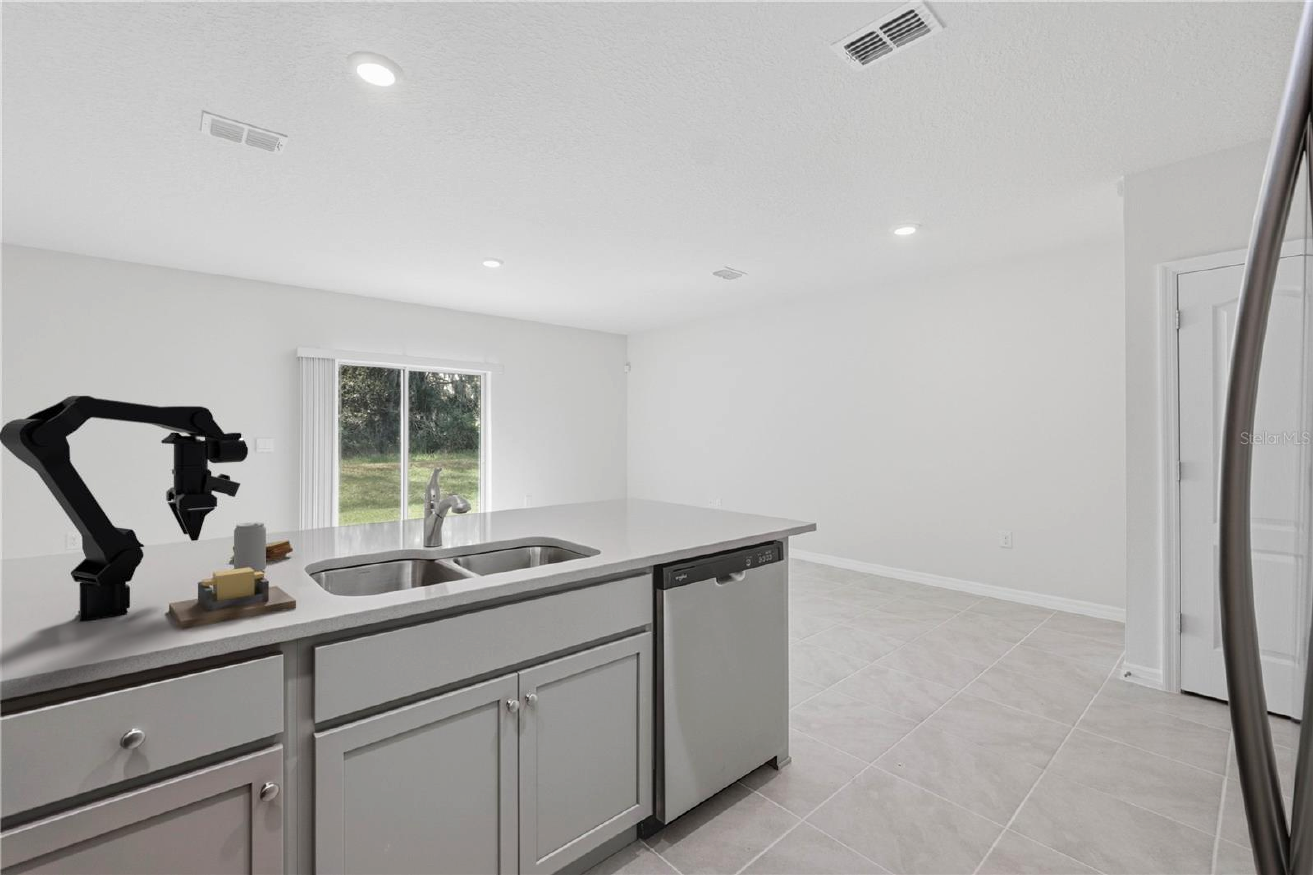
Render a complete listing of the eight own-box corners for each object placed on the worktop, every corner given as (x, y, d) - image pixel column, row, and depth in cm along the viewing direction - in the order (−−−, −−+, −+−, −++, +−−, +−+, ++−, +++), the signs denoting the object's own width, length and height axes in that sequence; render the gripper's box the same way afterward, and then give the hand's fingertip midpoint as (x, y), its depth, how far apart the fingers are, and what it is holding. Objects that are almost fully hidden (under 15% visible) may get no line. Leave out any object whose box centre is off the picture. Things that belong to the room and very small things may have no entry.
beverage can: (249, 576, 138) (249, 526, 138) (227, 574, 139) (227, 525, 139) (272, 570, 144) (272, 522, 144) (250, 568, 146) (250, 520, 145)
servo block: (205, 609, 110) (205, 577, 110) (201, 604, 113) (201, 573, 113) (264, 599, 117) (265, 569, 117) (259, 594, 120) (260, 565, 120)
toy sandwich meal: (263, 552, 164) (263, 535, 164) (301, 556, 160) (301, 539, 160) (219, 562, 152) (219, 544, 152) (258, 567, 148) (258, 548, 148)
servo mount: (181, 629, 103) (181, 599, 103) (169, 611, 113) (169, 583, 113) (296, 607, 117) (296, 580, 116) (276, 592, 126) (276, 567, 126)
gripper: (246, 466, 124) (246, 539, 124) (227, 460, 136) (227, 527, 137) (179, 468, 116) (179, 546, 116) (165, 462, 128) (165, 532, 129)
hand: (190, 537), depth 125 cm, fingers open, 9 cm apart
